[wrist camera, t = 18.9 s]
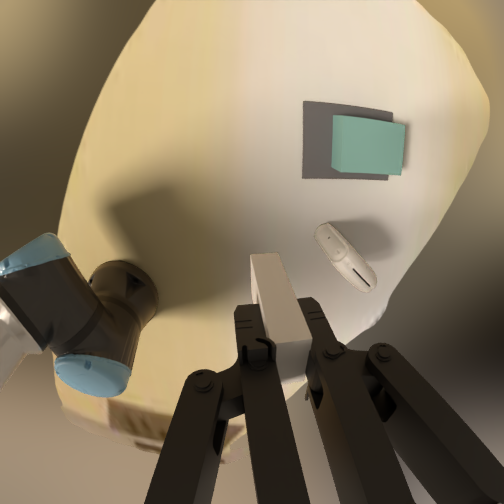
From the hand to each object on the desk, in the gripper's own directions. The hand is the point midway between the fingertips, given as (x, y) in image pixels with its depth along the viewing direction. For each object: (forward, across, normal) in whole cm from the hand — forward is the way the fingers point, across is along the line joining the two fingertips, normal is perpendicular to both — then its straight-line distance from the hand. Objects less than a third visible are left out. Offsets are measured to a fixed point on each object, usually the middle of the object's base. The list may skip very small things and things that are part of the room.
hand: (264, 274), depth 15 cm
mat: (+30, +20, +5) cm, 36 cm away
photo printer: (+30, +18, -14) cm, 38 cm away
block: (+28, +16, +5) cm, 32 cm away
